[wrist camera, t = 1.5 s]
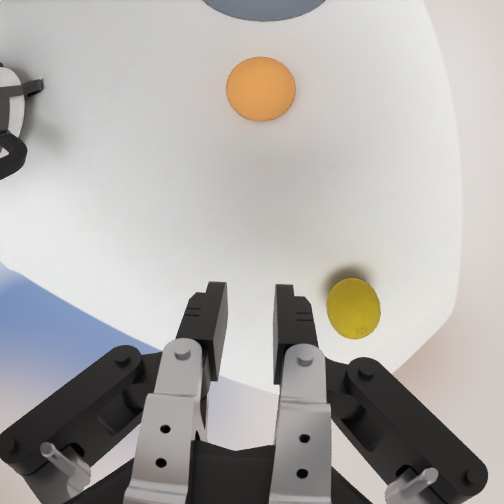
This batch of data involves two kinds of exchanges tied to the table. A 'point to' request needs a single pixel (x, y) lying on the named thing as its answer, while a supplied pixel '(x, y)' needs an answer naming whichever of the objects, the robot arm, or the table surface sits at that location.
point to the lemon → (353, 308)
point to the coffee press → (13, 119)
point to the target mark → (264, 8)
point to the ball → (260, 88)
